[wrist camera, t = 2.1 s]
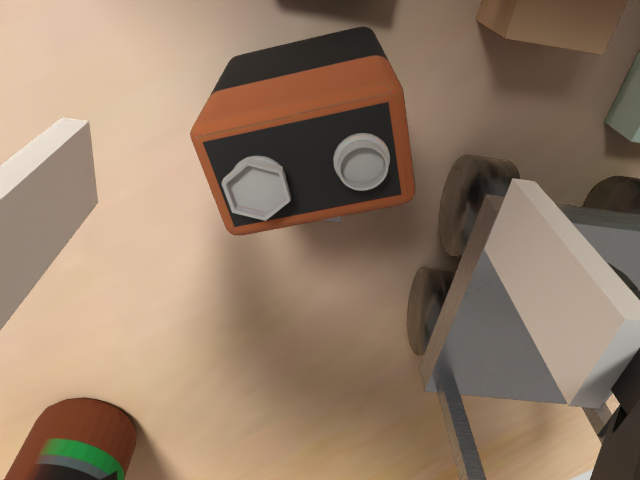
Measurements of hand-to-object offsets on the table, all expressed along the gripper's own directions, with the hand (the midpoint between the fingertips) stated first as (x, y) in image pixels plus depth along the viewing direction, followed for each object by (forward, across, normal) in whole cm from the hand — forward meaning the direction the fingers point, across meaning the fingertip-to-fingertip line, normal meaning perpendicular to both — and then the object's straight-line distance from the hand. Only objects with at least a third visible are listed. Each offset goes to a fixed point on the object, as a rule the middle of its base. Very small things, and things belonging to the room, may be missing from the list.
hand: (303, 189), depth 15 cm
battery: (+10, 0, +1) cm, 10 cm away
